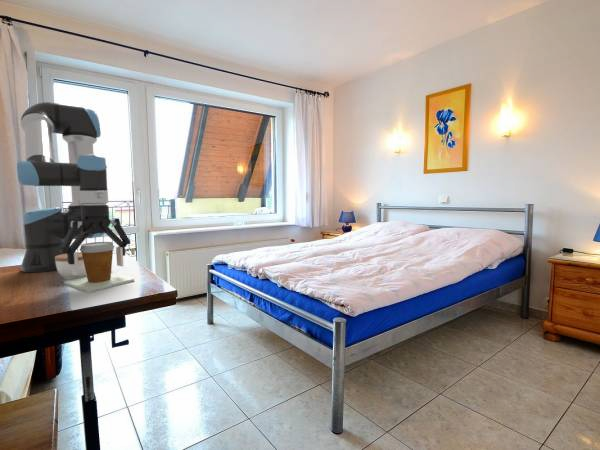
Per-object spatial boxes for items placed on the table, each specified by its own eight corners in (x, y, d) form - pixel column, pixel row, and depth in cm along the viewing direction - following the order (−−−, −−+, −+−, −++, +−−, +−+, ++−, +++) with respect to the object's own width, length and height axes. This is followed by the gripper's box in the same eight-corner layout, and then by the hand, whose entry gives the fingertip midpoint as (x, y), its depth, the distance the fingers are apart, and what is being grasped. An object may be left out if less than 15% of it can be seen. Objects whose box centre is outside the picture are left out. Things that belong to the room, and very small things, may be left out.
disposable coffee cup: (116, 275, 110) (114, 240, 109) (116, 281, 102) (113, 244, 101) (83, 278, 106) (80, 242, 104) (80, 285, 97) (77, 247, 96)
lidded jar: (74, 281, 105) (72, 253, 104) (48, 280, 107) (45, 252, 106) (101, 273, 115) (99, 248, 114) (76, 272, 118) (74, 247, 117)
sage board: (64, 283, 102) (64, 281, 102) (109, 274, 114) (109, 272, 114) (88, 292, 94) (87, 289, 94) (134, 281, 105) (134, 278, 105)
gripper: (53, 206, 89) (58, 280, 91) (139, 203, 110) (142, 263, 112) (42, 205, 93) (48, 276, 95) (127, 203, 114) (130, 261, 116)
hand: (99, 269), depth 104 cm, fingers open, 13 cm apart
